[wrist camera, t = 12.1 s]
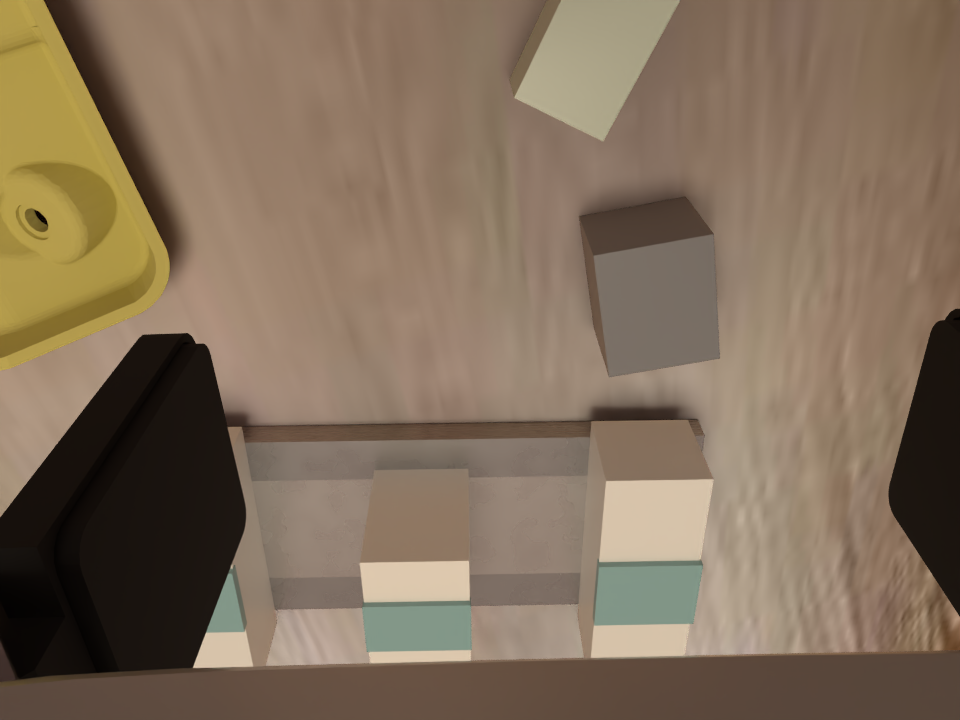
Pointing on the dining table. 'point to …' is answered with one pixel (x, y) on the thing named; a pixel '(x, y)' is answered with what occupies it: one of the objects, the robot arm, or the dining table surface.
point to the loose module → (417, 567)
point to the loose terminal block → (588, 58)
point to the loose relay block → (651, 286)
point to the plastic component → (63, 201)
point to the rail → (474, 446)
